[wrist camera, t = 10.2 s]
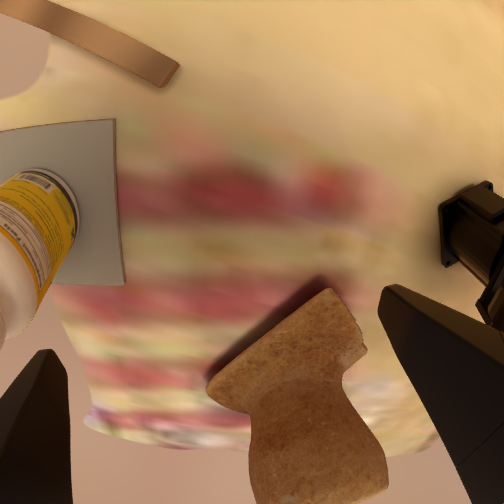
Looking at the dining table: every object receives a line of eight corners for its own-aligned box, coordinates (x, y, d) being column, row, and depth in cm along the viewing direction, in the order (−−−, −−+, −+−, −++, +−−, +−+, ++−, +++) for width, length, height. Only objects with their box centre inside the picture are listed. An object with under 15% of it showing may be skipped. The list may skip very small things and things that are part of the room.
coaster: (115, 118, 16) (112, 119, 16) (125, 281, 21) (124, 285, 21) (-28, 137, 14) (-33, 139, 14) (0, 276, 19) (-3, 281, 19)
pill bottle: (23, 261, 19) (-48, 380, 9) (-8, 181, 15) (-116, 274, 6) (95, 245, 19) (38, 383, 10) (67, 153, 16) (-46, 245, 6)
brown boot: (272, 414, 33) (303, 535, 20) (187, 376, 27) (198, 536, 15) (386, 335, 29) (459, 461, 16) (319, 270, 24) (418, 451, 11)
